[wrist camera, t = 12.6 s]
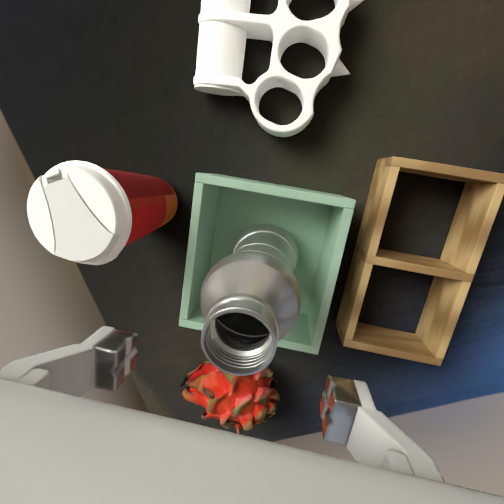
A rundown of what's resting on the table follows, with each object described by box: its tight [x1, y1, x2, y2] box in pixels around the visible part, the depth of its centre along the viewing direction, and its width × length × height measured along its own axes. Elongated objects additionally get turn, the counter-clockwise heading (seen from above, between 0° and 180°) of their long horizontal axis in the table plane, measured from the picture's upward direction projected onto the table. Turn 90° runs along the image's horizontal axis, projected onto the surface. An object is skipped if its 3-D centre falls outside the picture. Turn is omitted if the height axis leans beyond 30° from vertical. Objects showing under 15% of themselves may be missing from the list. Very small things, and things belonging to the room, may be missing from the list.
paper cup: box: [27, 161, 178, 265], centre depth 28 cm, size 8×8×14 cm
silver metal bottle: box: [200, 224, 301, 376], centre depth 24 cm, size 6×7×20 cm
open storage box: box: [179, 173, 356, 355], centre depth 31 cm, size 15×14×8 cm
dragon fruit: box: [180, 360, 281, 435], centre depth 36 cm, size 8×8×12 cm
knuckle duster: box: [193, 0, 364, 137], centre depth 28 cm, size 3×18×15 cm
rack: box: [335, 156, 504, 366], centre depth 31 cm, size 19×10×5 cm, turn 171°
